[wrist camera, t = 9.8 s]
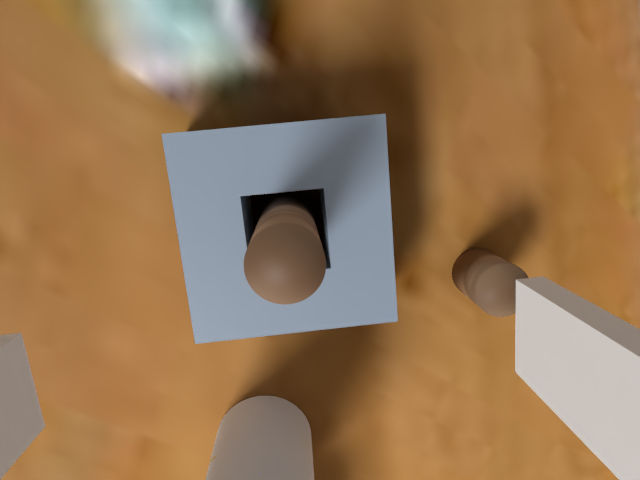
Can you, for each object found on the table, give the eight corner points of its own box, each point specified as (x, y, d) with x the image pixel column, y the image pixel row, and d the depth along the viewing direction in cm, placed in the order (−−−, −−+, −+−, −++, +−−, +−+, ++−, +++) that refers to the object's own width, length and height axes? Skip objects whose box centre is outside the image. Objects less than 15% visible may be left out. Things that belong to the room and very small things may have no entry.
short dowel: (451, 250, 37) (475, 266, 32) (499, 245, 37) (530, 261, 33) (452, 297, 38) (476, 319, 33) (499, 292, 38) (530, 313, 33)
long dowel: (258, 196, 35) (238, 229, 22) (310, 191, 35) (322, 220, 22) (264, 246, 36) (249, 308, 22) (314, 241, 36) (329, 299, 23)
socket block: (183, 135, 34) (161, 133, 28) (369, 118, 35) (385, 113, 29) (210, 312, 37) (195, 343, 31) (381, 293, 38) (397, 321, 32)
